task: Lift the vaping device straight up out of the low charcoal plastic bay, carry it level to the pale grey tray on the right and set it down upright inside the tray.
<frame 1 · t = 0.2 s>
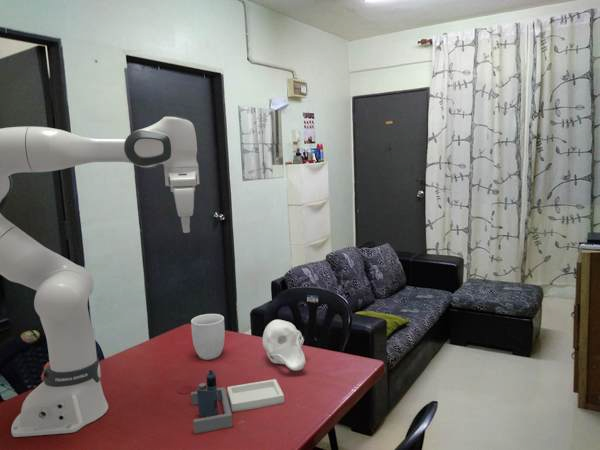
hand: (185, 230, 123), 47 cm above the table, tool pointing down, fingers open, 8 cm apart
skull: (284, 364, 148), on the table
tray: (255, 398, 126), on the table
bay: (208, 414, 119), on the table
vaping device: (208, 415, 119), on the table
mug: (208, 355, 157), on the table
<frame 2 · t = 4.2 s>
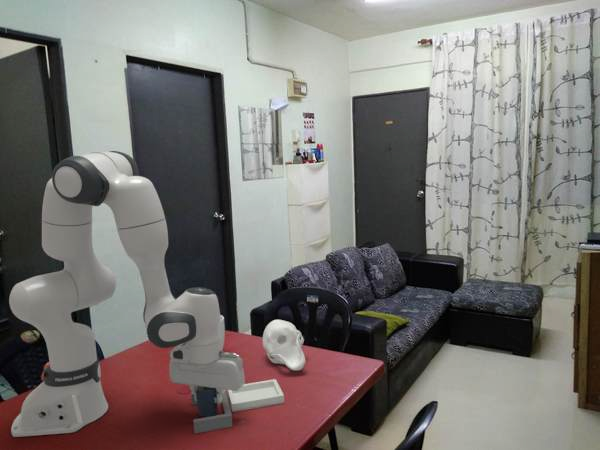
hand: (208, 401, 118), 4 cm above the table, tool pointing down, fingers open, 4 cm apart
vaping device: (208, 414, 119), on the table, touching gripper
everything else where it was.
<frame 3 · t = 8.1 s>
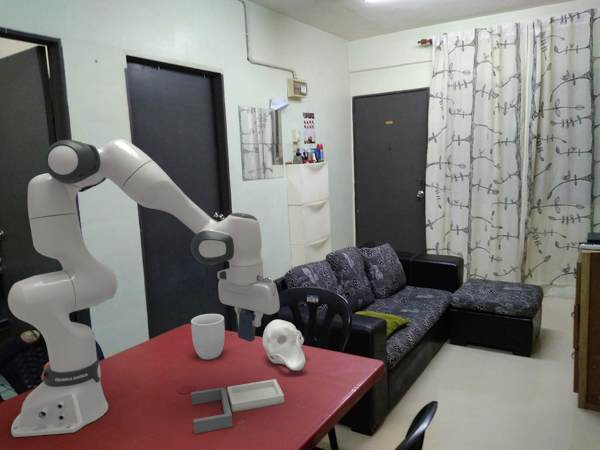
hand: (249, 324, 123), 21 cm above the table, tool pointing down, fingers closed on vaping device, 4 cm apart
vaping device: (246, 338, 125), point 17 cm above the table, touching gripper
everything else where it was.
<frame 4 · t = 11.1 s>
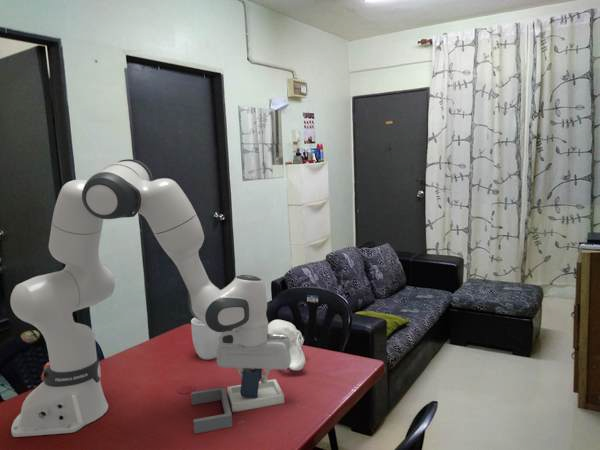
hand: (255, 382, 126), 5 cm above the table, tool pointing down, fingers closed on vaping device, 4 cm apart
vaping device: (249, 396, 126), point 1 cm above the table, touching gripper, tray
everything else where it was.
when the fingers open (5 cm above the table, at t = 11.1 s): vaping device stays where it is, resting on tray.
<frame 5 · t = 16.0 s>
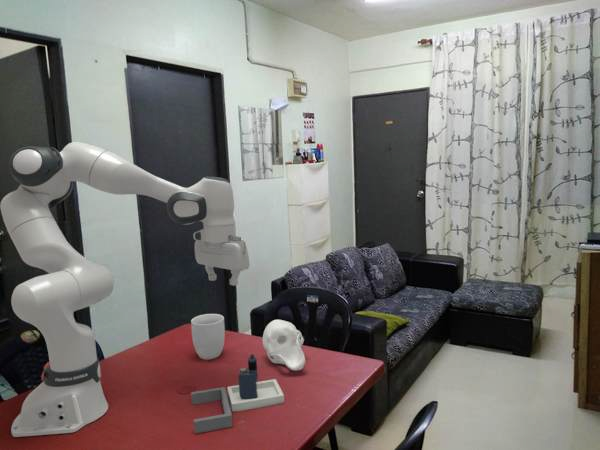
hand: (222, 282, 130), 31 cm above the table, tool pointing down, fingers open, 8 cm apart
vaping device: (249, 397, 126), resting on tray
everything else where it was.
at the end: vaping device inside the target area on the tray (1.6 cm from its centre), point 0.4 cm above the tray's base; vaping device tilted 0°; the gripper is holding nothing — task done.
